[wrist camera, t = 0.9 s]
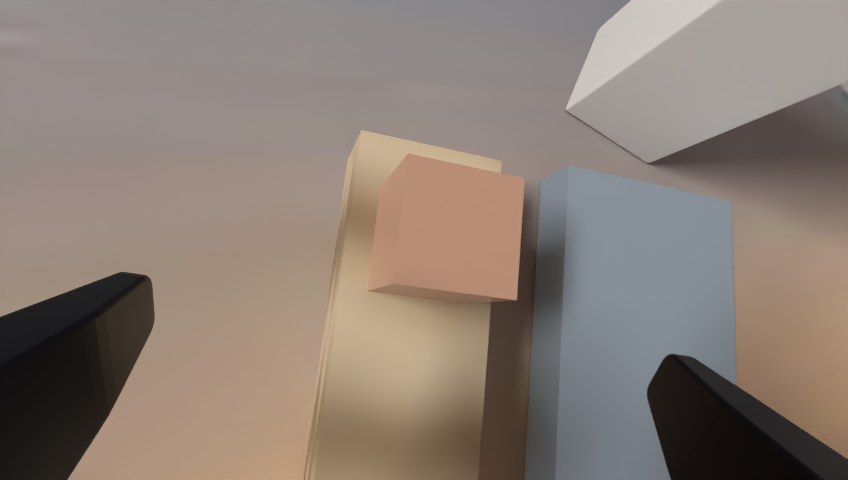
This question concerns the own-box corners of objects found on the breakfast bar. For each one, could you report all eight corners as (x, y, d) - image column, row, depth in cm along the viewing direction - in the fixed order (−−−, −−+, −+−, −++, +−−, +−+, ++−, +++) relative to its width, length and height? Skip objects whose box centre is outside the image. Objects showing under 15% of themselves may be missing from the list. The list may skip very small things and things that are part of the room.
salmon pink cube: (467, 303, 18) (516, 300, 15) (367, 290, 17) (392, 283, 14) (475, 205, 19) (524, 178, 15) (380, 187, 18) (408, 153, 14)
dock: (697, 739, 22) (746, 788, 20) (508, 773, 20) (539, 835, 17) (692, 211, 27) (731, 201, 25) (540, 179, 25) (568, 164, 22)
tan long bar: (416, 749, 19) (451, 856, 15) (261, 773, 17) (258, 899, 14) (465, 185, 24) (501, 160, 20) (346, 161, 22) (361, 130, 18)
